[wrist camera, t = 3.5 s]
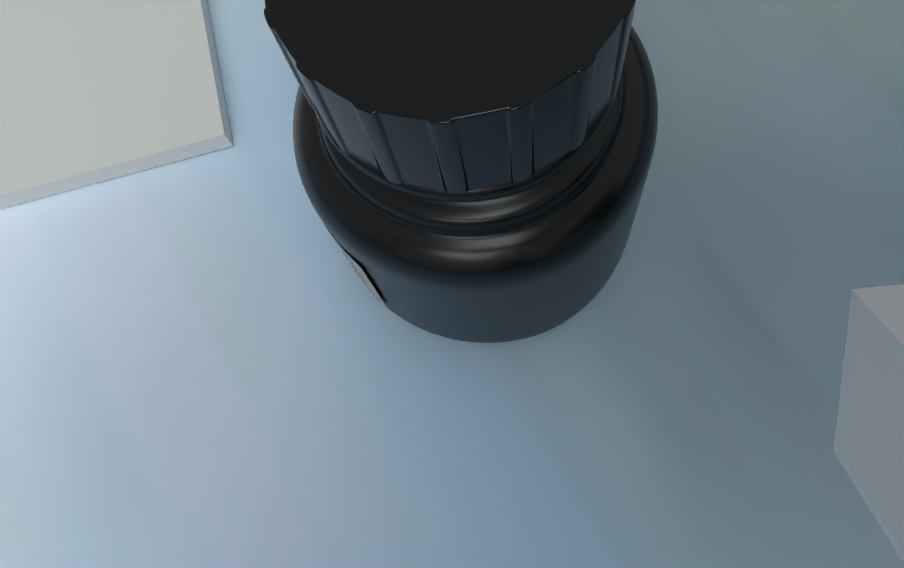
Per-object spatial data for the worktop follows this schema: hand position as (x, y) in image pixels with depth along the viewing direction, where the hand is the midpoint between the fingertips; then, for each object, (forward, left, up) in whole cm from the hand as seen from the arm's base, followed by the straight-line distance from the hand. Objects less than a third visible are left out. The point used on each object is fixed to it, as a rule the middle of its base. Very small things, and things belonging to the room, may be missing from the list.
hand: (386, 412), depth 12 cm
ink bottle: (-3, -8, -12) cm, 15 cm away
